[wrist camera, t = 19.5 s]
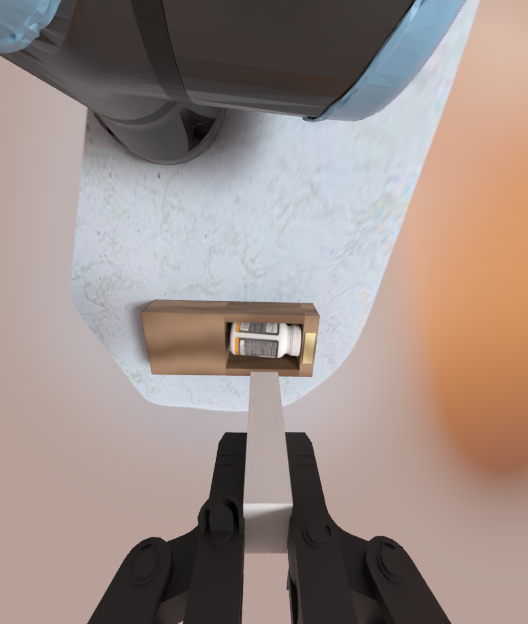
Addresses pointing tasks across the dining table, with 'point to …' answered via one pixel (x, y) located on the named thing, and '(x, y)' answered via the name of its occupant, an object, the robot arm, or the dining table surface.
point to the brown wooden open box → (222, 337)
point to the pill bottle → (265, 339)
